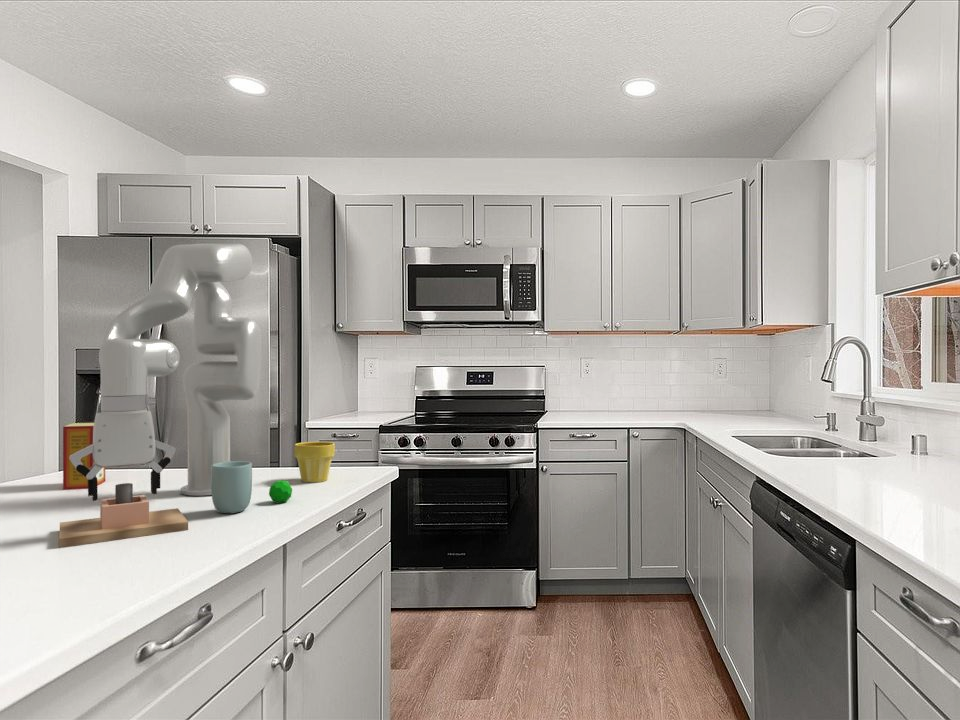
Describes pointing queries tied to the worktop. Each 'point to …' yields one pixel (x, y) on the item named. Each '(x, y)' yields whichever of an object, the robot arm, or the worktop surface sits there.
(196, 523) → the worktop surface
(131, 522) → the collar
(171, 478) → the worktop surface
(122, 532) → the post board
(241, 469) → the cup
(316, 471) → the plant pot
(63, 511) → the worktop surface
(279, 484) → the polyhedron
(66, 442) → the baking soda box
